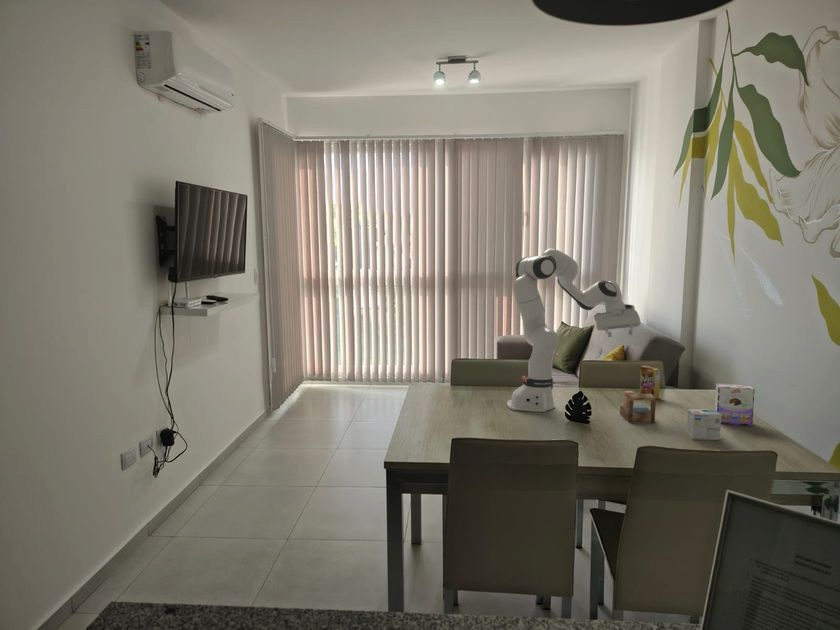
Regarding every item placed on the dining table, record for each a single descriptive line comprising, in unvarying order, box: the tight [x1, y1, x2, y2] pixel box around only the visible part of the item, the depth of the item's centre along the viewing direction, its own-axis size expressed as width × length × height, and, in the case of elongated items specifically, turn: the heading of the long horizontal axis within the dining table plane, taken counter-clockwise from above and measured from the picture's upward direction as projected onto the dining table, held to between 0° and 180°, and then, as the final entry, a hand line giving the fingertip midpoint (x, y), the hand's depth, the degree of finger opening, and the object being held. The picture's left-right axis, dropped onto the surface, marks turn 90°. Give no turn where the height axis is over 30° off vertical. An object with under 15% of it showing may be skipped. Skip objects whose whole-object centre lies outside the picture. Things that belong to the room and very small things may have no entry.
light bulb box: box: [686, 408, 722, 441], centre depth 215 cm, size 11×7×11 cm, turn 84°
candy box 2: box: [714, 383, 756, 427], centre depth 232 cm, size 14×6×16 cm, turn 71°
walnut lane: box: [619, 393, 657, 424], centre depth 239 cm, size 11×12×11 cm
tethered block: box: [623, 390, 649, 413], centre depth 243 cm, size 6×17×9 cm, turn 178°
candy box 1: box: [639, 365, 661, 400], centre depth 271 cm, size 9×4×15 cm, turn 28°
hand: (620, 335), depth 257 cm, fingers open, 8 cm apart
